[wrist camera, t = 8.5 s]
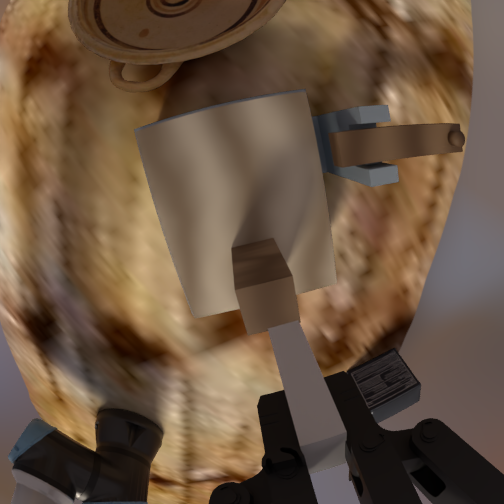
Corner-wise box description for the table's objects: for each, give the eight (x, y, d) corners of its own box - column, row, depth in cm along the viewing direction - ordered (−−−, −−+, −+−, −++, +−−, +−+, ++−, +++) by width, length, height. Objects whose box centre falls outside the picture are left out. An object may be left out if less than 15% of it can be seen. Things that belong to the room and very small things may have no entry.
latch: (334, 165, 24) (348, 169, 21) (328, 133, 23) (342, 132, 20) (450, 149, 24) (470, 152, 21) (447, 123, 23) (467, 124, 20)
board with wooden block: (195, 312, 30) (188, 372, 22) (139, 132, 23) (98, 128, 14) (332, 278, 30) (368, 327, 22) (302, 93, 23) (340, 72, 14)
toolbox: (198, 282, 38) (190, 338, 27) (154, 132, 30) (119, 127, 19) (355, 243, 38) (401, 282, 27) (333, 94, 30) (381, 78, 19)
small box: (350, 389, 50) (368, 429, 40) (345, 371, 47) (365, 413, 37) (396, 366, 49) (420, 402, 39) (395, 346, 47) (421, 383, 37)
